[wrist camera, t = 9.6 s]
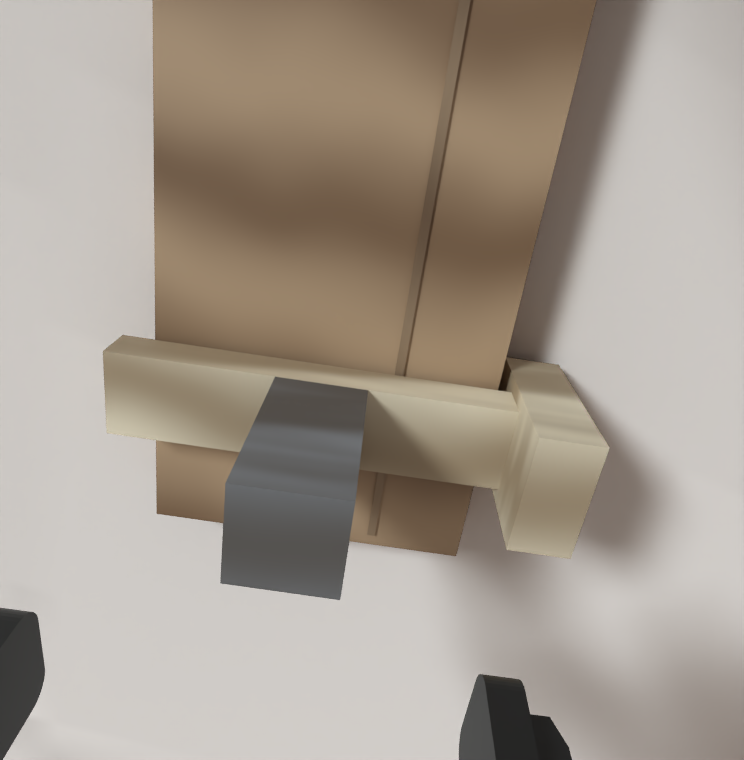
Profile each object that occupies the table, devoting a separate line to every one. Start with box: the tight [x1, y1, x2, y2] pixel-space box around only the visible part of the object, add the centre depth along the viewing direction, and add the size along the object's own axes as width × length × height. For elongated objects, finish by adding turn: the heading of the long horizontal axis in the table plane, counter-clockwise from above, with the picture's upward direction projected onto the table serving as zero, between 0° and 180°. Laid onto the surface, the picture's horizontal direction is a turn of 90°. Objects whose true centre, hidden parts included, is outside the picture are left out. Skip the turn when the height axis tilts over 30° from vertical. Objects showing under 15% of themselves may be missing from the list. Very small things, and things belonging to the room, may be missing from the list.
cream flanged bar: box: [103, 335, 610, 600], centre depth 19 cm, size 4×15×10 cm, turn 82°
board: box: [153, 0, 597, 556], centre depth 20 cm, size 26×12×2 cm, turn 172°
